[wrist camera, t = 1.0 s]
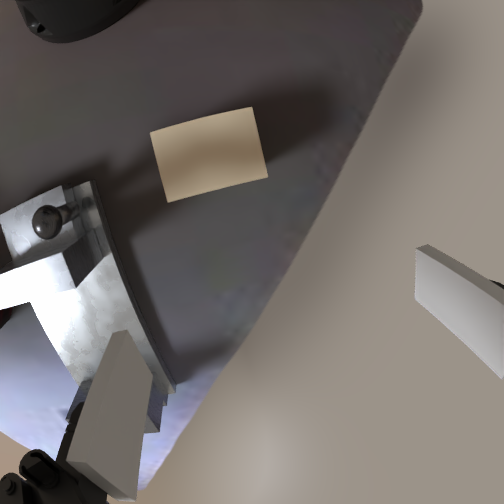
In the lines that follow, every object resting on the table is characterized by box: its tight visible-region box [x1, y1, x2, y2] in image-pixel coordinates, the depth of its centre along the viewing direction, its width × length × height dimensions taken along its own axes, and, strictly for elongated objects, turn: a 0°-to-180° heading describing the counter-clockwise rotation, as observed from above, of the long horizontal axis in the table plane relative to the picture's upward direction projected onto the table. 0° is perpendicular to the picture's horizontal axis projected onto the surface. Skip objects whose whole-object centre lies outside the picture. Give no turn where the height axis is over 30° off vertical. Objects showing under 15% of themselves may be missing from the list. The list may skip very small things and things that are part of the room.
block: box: [150, 107, 268, 203], centre depth 23 cm, size 5×7×8 cm
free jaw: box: [0, 183, 104, 309], centre depth 21 cm, size 8×12×8 cm
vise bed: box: [0, 180, 176, 433], centre depth 25 cm, size 26×13×8 cm, turn 13°
